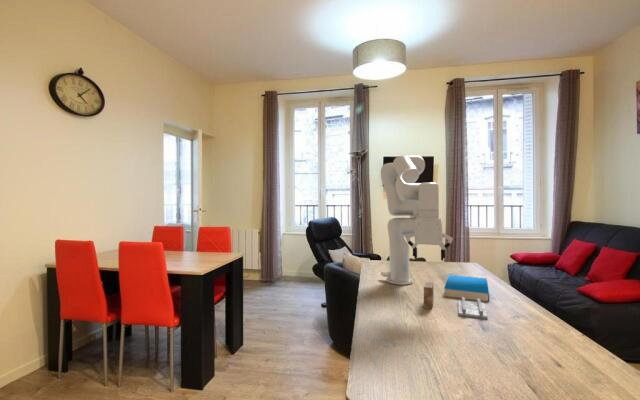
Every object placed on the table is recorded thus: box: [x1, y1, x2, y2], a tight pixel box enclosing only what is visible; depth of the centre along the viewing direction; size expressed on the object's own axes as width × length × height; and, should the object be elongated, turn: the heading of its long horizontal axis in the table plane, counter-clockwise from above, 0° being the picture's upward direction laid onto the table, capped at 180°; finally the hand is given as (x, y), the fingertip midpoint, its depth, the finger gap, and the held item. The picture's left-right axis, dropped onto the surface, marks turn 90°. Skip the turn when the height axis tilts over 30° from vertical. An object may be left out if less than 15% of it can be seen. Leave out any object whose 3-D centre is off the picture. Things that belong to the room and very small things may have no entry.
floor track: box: [457, 297, 488, 320], centre depth 117 cm, size 15×9×2 cm, turn 157°
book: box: [444, 274, 490, 302], centre depth 142 cm, size 17×4×25 cm
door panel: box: [423, 281, 435, 310], centre depth 123 cm, size 3×8×8 cm, turn 157°
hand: (428, 259), depth 122 cm, fingers open, 9 cm apart
